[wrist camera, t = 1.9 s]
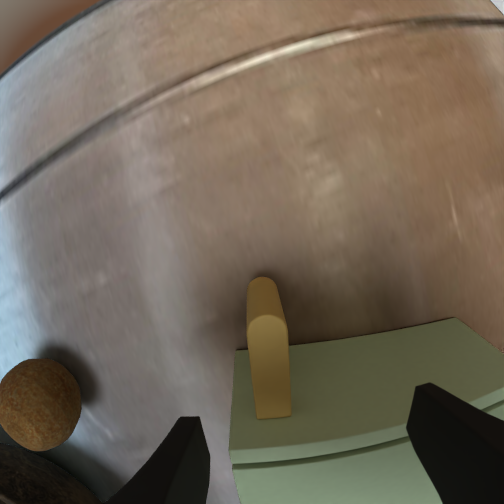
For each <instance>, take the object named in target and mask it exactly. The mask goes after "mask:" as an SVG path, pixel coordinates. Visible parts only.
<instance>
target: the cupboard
mask: <svg viewBox="0 0 504 504" xmlns="http://www.w3.org/2000/svg"><path fill="white" fill-rule="evenodd" d="M481 410H482V411H484V412H486V413H488V414H490V415H492V416H494V417H497V418H499V419H501V420H503V421H504V399H503V400H501V401H499V402H497V403H495V404H493V405H490V406H488V407H486V408H484V409H481ZM232 471H233V475H234V479H235V483H236V487H237V491H238V495H239V499H240V503H241V504H443V503H442V501H441V499H440V497H439V495H438V493H437V491H436V489H435V487H434V485H433V483H432V482H431V480H430V478H429V476H428V474H427V473H426V471H425V469H424V467H423V465H422V464H421V462H420V460H419V458H418V456H417V455H416V453H415V451H414V448H413V446H412V443H411V441H410V438H409V436H406V437H402V438H399V439H395V440H391V441H387V442H383V443H379V444H375V445H371V446H367V447H362V448H358V449H353V450H348V451H343V452H337V453H332V454H326V455H320V456H313V457H306V458H298V459H290V460H281V461H270V462H257V463H238V464H233V465H232Z"/></svg>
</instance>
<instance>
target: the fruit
mask: <svg viewBox="0 0 504 504" xmlns="http://www.w3.org/2000/svg"><path fill="white" fill-rule="evenodd" d="M81 409H82V408H81V395H80V388H79V386H78V384H77V382H76V380H75V378H74V377H73V376H72V374H71V373H70V372H69V371H68V370H67V369H66V368H65V367H63V366H62V365H61V364H60V363H58V362H56V361H53V360H51V359H48V358H42V359H28V360H25V361H22V362H21V363H19V364H18V365H16V366H15V367H14V368H12V369H11V370H10V371H9V372H8V373H7V374H6V375H5V376H4V378H3V379H2V381H1V383H0V424H1V426H2V427H3V429H4V430H5V431H6V432H7V434H8V435H9V436H10V437H11V438H12V439H13V440H15V441H16V442H17V443H18V444H20V445H21V446H23V447H25V448H27V449H29V450H33V451H46V450H49V449H51V448H54V447H57V446H59V445H61V444H62V443H64V442H65V441H66V440H67V439H68V438H69V437H70V436H71V434H72V433H73V431H74V429H75V427H76V424H77V422H78V420H79V418H80V414H81Z"/></svg>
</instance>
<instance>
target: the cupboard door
mask: <svg viewBox="0 0 504 504" xmlns="http://www.w3.org/2000/svg"><path fill="white" fill-rule="evenodd" d="M246 333H247V343H248V350H239V351H235V362H234V376H233V391H232V405H231V420H230V436H229V454H230V459H231V463H232V464H238V463H257V462H270V461H281V460H290V459H298V458H306V457H313V456H320V455H326V454H332V453H337V452H343V451H348V450H353V449H358V448H362V447H367V446H371V445H375V444H379V443H383V442H387V441H391V440H395V439H399V438H402V437H406V436H409V435H408V433H407V430H406V425H407V421H408V417H409V413H410V409H411V405H412V400H413V396H414V391H415V386H418V385H422V384H425V383H429V382H431V383H433V384H435V385H437V386H439V387H441V388H442V389H444V390H446V391H448V392H449V393H451V394H453V395H455V396H456V397H458V398H460V399H462V400H463V401H465V402H467V403H469V404H471V405H472V406H474V407H476V408H478V409H480V410H481V409H484V408H486V407H488V406H490V405H493V404H495V403H497V402H499V401H501V400H503V399H504V354H503V353H502V352H500V351H499V350H498V349H496V348H495V347H494V346H493V345H491V344H490V343H489V342H488V341H486V340H485V339H484V338H482V337H481V336H480V335H479V334H477V333H476V332H475V331H473V330H472V329H471V328H469V327H468V326H467V325H465V324H464V323H463V322H461V321H460V320H459V319H457V318H451V319H447V320H442V321H438V322H433V323H429V324H424V325H419V326H414V327H409V328H404V329H399V330H394V331H388V332H383V333H377V334H371V335H365V336H359V337H353V338H346V339H339V340H332V341H325V342H317V343H309V344H301V345H292V346H289V342H288V328H287V324H286V320H285V316H284V313H283V309H282V305H281V301H280V297H279V293H278V290H277V286H276V284H275V283H274V281H272V280H271V279H269V278H267V277H258V278H255V279H254V280H252V281H251V282H250V284H249V285H248V288H247V330H246Z"/></svg>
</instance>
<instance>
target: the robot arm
mask: <svg viewBox="0 0 504 504" xmlns="http://www.w3.org/2000/svg"><path fill="white" fill-rule="evenodd" d="M406 430H407V433H408V435H409V438H410V441H411V443H412V446H413V448H414V451H415V453H416V455H417V456H418V458H419V460H420V462H421V464H422V465H423V467H424V469H425V471H426V473H427V474H428V476H429V478H430V480H431V482H432V483H433V485H434V487H435V489H436V491H437V493H438V495H439V497H440V499H441V501H442V503H443V504H504V421H503V420H501V419H499V418H497V417H494V416H492V415H490V414H488V413H486V412H484V411H482V410H480V409H478V408H476V407H474V406H472V405H471V404H469V403H467V402H465V401H463V400H462V399H460V398H458V397H456V396H455V395H453V394H451V393H449V392H448V391H446V390H444V389H442V388H441V387H439V386H437V385H435V384H433V383H431V382H429V383H425V384H422V385H418V386H415V391H414V396H413V400H412V405H411V409H410V413H409V417H408V421H407V425H406ZM209 478H210V453H209V450H208V447H207V443H206V439H205V436H204V432H203V428H202V425H201V421H200V417H199V416H196V417H180V418H179V419H178V420H177V422H176V423H175V425H174V426H173V428H172V429H171V431H170V432H169V433H168V435H167V436H166V438H165V439H164V440H163V442H162V443H161V444H160V446H159V447H158V448H157V450H156V451H155V452H154V453H153V455H152V456H151V457H150V458H149V460H148V461H147V462H146V463H145V464H144V465H143V466H142V468H141V469H140V470H139V471H138V472H137V473H136V474H135V475H134V476H133V477H132V478H131V479H130V480H129V481H128V482H127V483H126V484H125V485H124V486H123V487H122V488H121V489H120V490H119V491H118V492H117V493H115V494H114V495H113V496H112V497H111V498H110V499H108V500H107V501H106V502H104V503H103V504H206V499H207V493H208V487H209Z"/></svg>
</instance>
